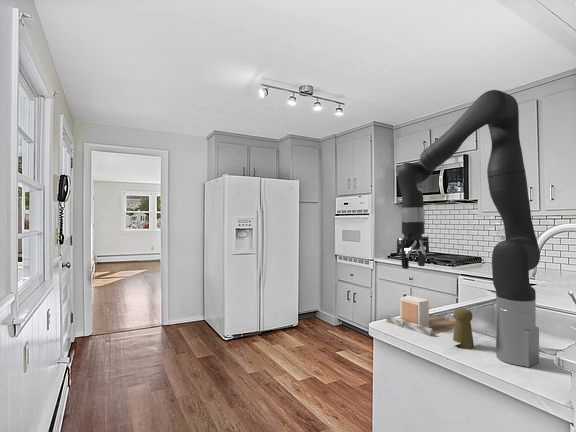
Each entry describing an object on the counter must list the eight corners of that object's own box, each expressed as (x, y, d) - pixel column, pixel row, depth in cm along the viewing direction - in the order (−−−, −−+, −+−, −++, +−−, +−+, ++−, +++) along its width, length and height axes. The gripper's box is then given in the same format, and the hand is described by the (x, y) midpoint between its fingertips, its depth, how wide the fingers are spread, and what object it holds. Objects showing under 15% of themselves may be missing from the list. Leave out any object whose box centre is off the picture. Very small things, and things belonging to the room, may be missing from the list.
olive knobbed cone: (478, 348, 106) (477, 312, 106) (457, 349, 106) (457, 312, 106) (468, 341, 112) (468, 306, 112) (448, 341, 113) (448, 306, 112)
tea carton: (428, 326, 123) (428, 300, 122) (419, 329, 120) (418, 302, 120) (409, 320, 129) (409, 295, 129) (399, 322, 127) (399, 297, 126)
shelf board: (465, 328, 124) (465, 318, 124) (429, 340, 113) (429, 329, 113) (421, 316, 139) (421, 307, 139) (385, 325, 128) (385, 316, 128)
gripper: (416, 220, 131) (417, 264, 131) (390, 221, 123) (391, 268, 123) (435, 220, 125) (435, 266, 125) (408, 221, 117) (408, 270, 117)
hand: (413, 267), depth 124 cm, fingers open, 8 cm apart
